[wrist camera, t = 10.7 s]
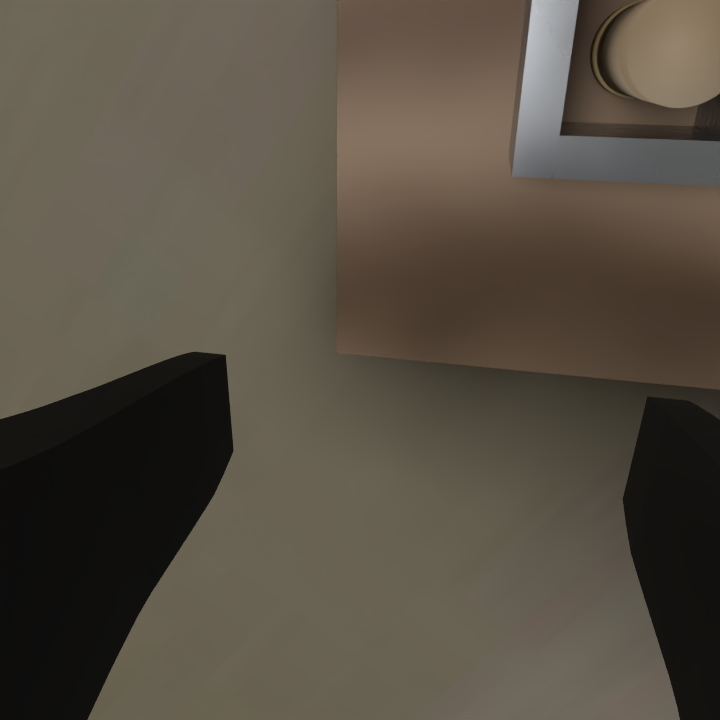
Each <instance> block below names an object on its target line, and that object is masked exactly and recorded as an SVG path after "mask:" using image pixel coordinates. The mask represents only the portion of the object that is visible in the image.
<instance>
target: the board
mask: <svg viewBox="0 0 720 720" xmlns="http://www.w3.org/2000/svg"><path fill="white" fill-rule="evenodd" d="M525 4H526V0H337V353H341V354H351V355H362V356H372V357H383V358H393V359H403V360H414V361H424V362H435V363H445V364H456V365H466V366H476V367H487V368H497V369H508V370H518V371H529V372H539V373H549V374H560V375H570V376H581V377H591V378H602V379H612V380H622V381H633V382H643V383H654V384H664V385H675V386H685V387H695V388H706V389H716V390H720V187H719V186H699V185H678V184H657V183H636V182H615V181H594V180H573V179H552V178H531V177H512V175H511V169H510V162H509V147H510V138H511V129H512V120H513V111H514V102H515V93H516V84H517V75H518V67H519V58H520V49H521V40H522V31H523V22H524V13H525ZM718 94H720V0H579V4H578V11H577V18H576V25H575V32H574V39H573V46H572V53H571V60H570V67H569V74H568V81H567V88H566V95H565V102H564V109H563V116H562V122H586V123H616V124H646V125H675V126H694V122H695V118H696V113H697V109H698V105H699V104H701V103H704V102H706V101H708V100H710V99H712V98H714V97H715V96H717V95H718Z"/></svg>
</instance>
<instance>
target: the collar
mask: <svg viewBox="0 0 720 720" xmlns="http://www.w3.org/2000/svg"><path fill="white" fill-rule="evenodd" d="M578 4H579V0H526V4H525V13H524V22H523V31H522V40H521V49H520V58H519V67H518V75H517V84H516V93H515V102H514V111H513V120H512V129H511V138H510V147H509V162H510V169H511V175H512V177H531V178H552V179H573V180H594V181H615V182H636V183H657V184H678V185H699V186H719V187H720V94H718V95H717V96H715V97H714V98H712V99H710V100H708V101H706V102H704V103H701V104H699V105H698V109H697V113H696V118H695V122H694V126H675V125H646V124H616V123H586V122H562V116H563V109H564V102H565V95H566V88H567V81H568V74H569V67H570V60H571V53H572V46H573V39H574V32H575V25H576V18H577V11H578Z"/></svg>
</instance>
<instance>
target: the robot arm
mask: <svg viewBox="0 0 720 720" xmlns="http://www.w3.org/2000/svg"><path fill="white" fill-rule="evenodd" d="M232 453H233V439H232V427H231V415H230V403H229V390H228V378H227V366H226V355H222V354H211V353H201V352H191V353H186V354H183V355H179V356H176V357H173V358H170V359H167V360H165V361H162V362H159V363H157V364H154V365H151V366H149V367H146V368H144V369H141V370H139V371H136V372H134V373H131V374H129V375H126V376H124V377H121V378H118V379H116V380H113V381H111V382H108V383H106V384H103V385H101V386H98V387H96V388H93V389H90V390H87V391H84V392H82V393H79V394H76V395H73V396H71V397H68V398H65V399H62V400H59V401H57V402H54V403H51V404H48V405H46V406H43V407H40V408H36V409H33V410H30V411H27V412H24V413H20V414H17V415H14V416H10V417H7V418H3V419H0V720H87V719H88V717H89V715H90V713H91V711H92V709H93V706H94V704H95V702H96V700H97V698H98V696H99V694H100V692H101V689H102V687H103V685H104V683H105V681H106V679H107V677H108V674H109V672H110V670H111V668H112V666H113V664H114V662H115V660H116V658H117V656H118V654H119V652H120V650H121V648H122V646H123V644H124V642H125V640H126V638H127V636H128V634H129V632H130V630H131V628H132V626H133V624H134V622H135V620H136V618H137V616H138V615H139V613H140V611H141V609H142V608H143V606H144V604H145V603H146V601H147V599H148V597H149V596H150V594H151V592H152V591H153V589H154V588H155V586H156V585H157V583H158V582H159V580H160V578H161V577H162V575H163V574H164V572H165V571H166V569H167V568H168V566H169V565H170V563H171V561H172V560H173V558H174V557H175V555H176V554H177V552H178V551H179V549H180V548H181V546H182V545H183V543H184V541H185V540H186V538H187V537H188V535H189V534H190V532H191V531H192V529H193V528H194V526H195V524H196V523H197V521H198V520H199V518H200V516H201V515H202V513H203V512H204V510H205V509H206V507H207V505H208V504H209V502H210V500H211V499H212V497H213V496H214V494H215V492H216V489H217V487H218V485H219V483H220V481H221V479H222V477H223V474H224V472H225V470H226V467H227V465H228V463H229V460H230V458H231V456H232ZM623 505H624V512H625V519H626V526H627V533H628V539H629V544H630V550H631V555H632V558H633V561H634V565H635V568H636V572H637V575H638V578H639V581H640V585H641V588H642V591H643V594H644V598H645V601H646V604H647V607H648V610H649V614H650V617H651V620H652V623H653V626H654V629H655V633H656V636H657V639H658V642H659V645H660V649H661V652H662V655H663V658H664V661H665V665H666V668H667V671H668V674H669V677H670V681H671V685H672V688H673V692H674V696H675V700H676V704H677V707H678V712H679V717H680V720H720V420H719V419H717V418H716V417H714V416H713V415H711V414H710V413H708V412H707V411H705V410H704V409H702V408H700V407H699V406H697V405H695V404H693V403H691V402H689V401H685V400H675V399H665V398H655V397H647V401H646V405H645V409H644V413H643V418H642V422H641V426H640V430H639V434H638V438H637V442H636V447H635V451H634V455H633V459H632V463H631V467H630V472H629V476H628V480H627V484H626V488H625V492H624V496H623Z"/></svg>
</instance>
